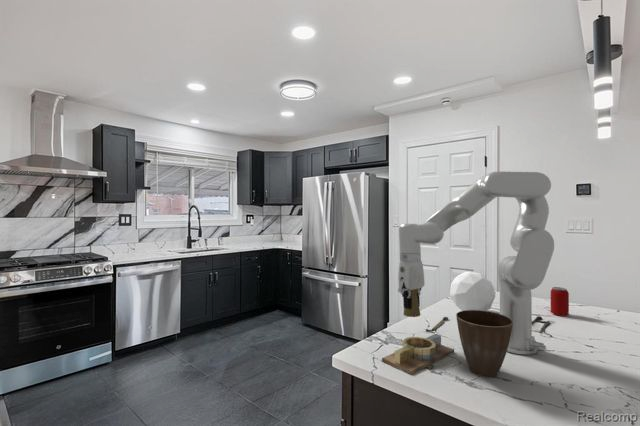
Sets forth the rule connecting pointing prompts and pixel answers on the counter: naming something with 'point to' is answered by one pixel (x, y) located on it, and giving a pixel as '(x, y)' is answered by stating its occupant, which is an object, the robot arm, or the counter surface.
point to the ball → (472, 292)
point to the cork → (413, 305)
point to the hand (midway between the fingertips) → (411, 306)
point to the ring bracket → (418, 349)
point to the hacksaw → (543, 325)
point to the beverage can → (559, 301)
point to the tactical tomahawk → (437, 325)
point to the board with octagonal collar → (417, 365)
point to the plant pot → (484, 340)
